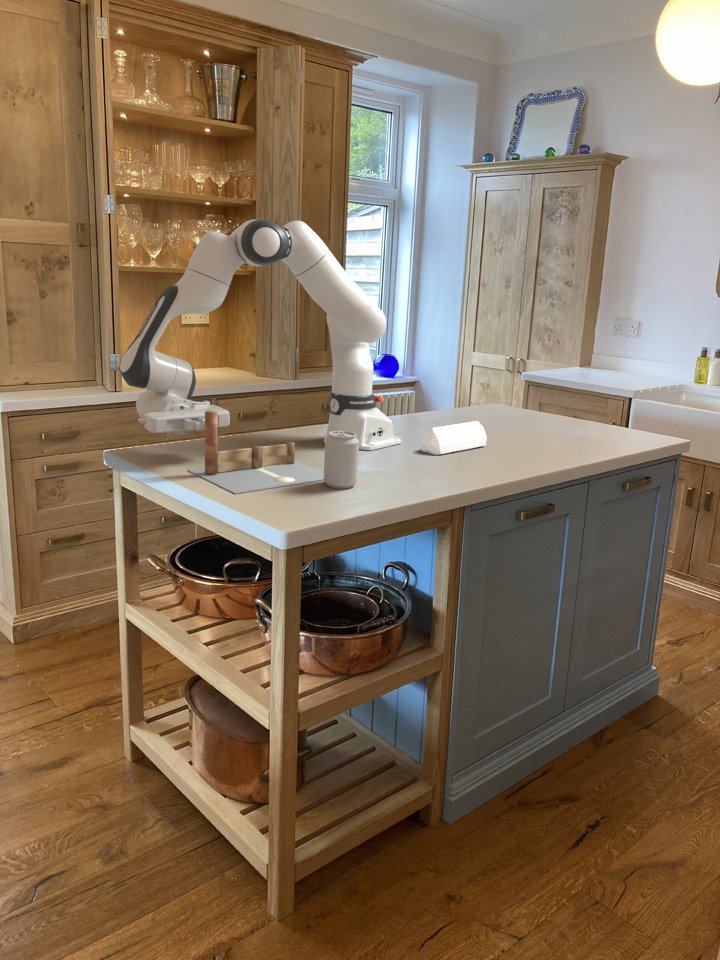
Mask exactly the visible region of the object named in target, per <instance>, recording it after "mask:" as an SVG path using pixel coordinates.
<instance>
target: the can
mask: <svg viewBox="0 0 720 960" xmlns="http://www.w3.org/2000/svg"><path fill="white" fill-rule="evenodd" d="M328 434H329V436H328V437H327V438H326V439H325V438H324V439H325V443H324V459H323V460H324V461H323V462H324V463H323V472H324V480H323V483H324V484H326V486H328V487H330V488H332V489H339V490H340V489H343V490H344V489H350V488H353V487H354V486H355V485H356V484H357V483H358V465H359V464H358V463H359V450H360V449H359V441H358V439H357V438H356V434H355V433H353V432H348V431H332V432H329V433H328Z"/></svg>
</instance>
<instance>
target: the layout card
mask: <svg viewBox="0 0 720 960" xmlns="http://www.w3.org/2000/svg"><path fill="white" fill-rule="evenodd" d="M186 471H187V472H188V473H191V474H194V475H196V476H197V477H200V478H201V479H204V480H205V481H208V482H210V483H212V484H214V485H216V486H218V487H220V488H222V489H224V490H226V491H228V492H230V493H233V494H234V495H237V494H238V495H239V493H240V494H244V493H245V492H246V493H251V492H252V491H253V492H258V491H264V490H270V489H276V488H277V489H278V488H282V487H283V488H284V487H289V486H290V487H291V486H296V485H302V484H309V483H314V482H321V481H324V471H322V470H320V469H317V468H314V467H312V466H310V465H306V464H304V463H301V462H299V461H296V460H294V464H285V463H284V464H277V465H270V466H261V468H260V469H253V468H246V469H239V470H232V471H225V472H217V474H206V473H205V466H203V467H197V468H189V469H186Z"/></svg>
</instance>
